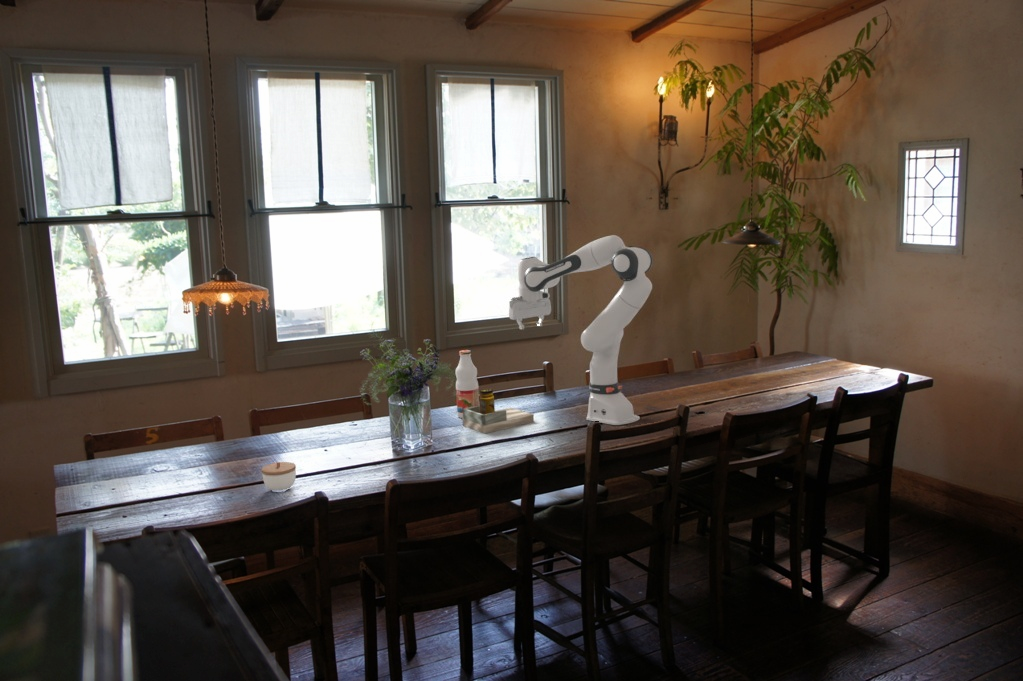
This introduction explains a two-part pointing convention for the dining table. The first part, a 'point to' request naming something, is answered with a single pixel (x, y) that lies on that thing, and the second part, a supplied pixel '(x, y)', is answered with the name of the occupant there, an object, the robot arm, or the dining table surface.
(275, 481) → the lidded jar
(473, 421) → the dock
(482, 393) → the condiment
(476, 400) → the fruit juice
